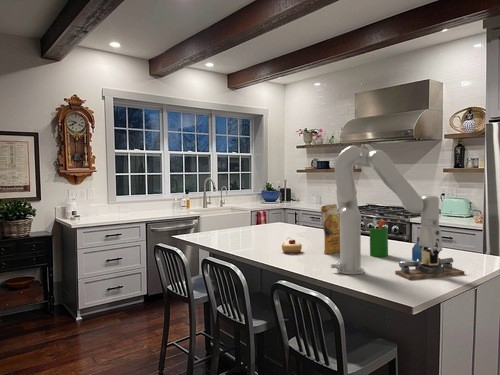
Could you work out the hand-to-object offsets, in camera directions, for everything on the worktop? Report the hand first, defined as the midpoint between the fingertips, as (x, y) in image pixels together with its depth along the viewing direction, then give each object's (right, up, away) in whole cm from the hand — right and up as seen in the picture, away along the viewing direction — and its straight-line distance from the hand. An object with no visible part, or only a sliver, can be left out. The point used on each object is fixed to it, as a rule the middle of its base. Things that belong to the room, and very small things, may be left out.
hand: (429, 261), depth 177 cm
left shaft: (-9, -6, 0) cm, 11 cm away
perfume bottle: (+8, -5, +28) cm, 29 cm away
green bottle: (-10, -4, +40) cm, 41 cm away
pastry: (-58, -5, +53) cm, 79 cm away
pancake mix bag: (-34, -4, +52) cm, 62 cm away
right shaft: (+9, -5, +4) cm, 11 cm away
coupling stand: (0, -6, 0) cm, 6 cm away
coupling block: (0, -1, 0) cm, 1 cm away
